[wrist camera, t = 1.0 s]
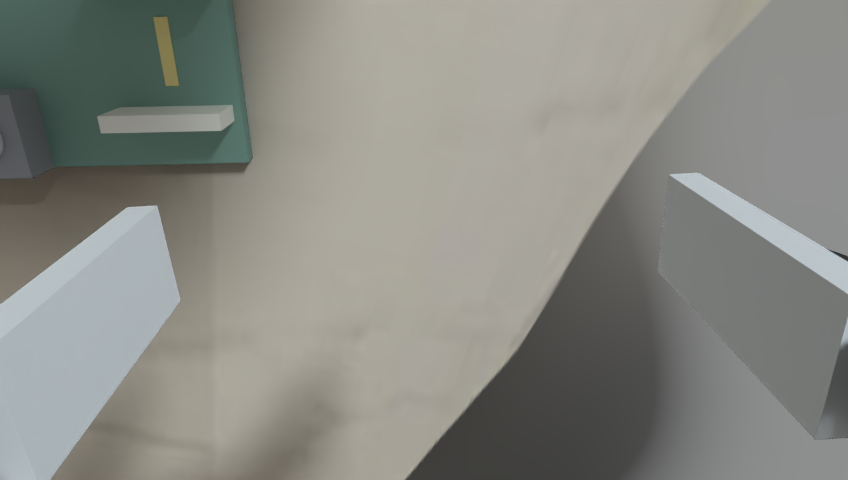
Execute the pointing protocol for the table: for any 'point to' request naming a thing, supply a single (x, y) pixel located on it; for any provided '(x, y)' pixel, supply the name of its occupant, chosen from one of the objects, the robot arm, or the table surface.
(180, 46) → the board
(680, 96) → the table surface
